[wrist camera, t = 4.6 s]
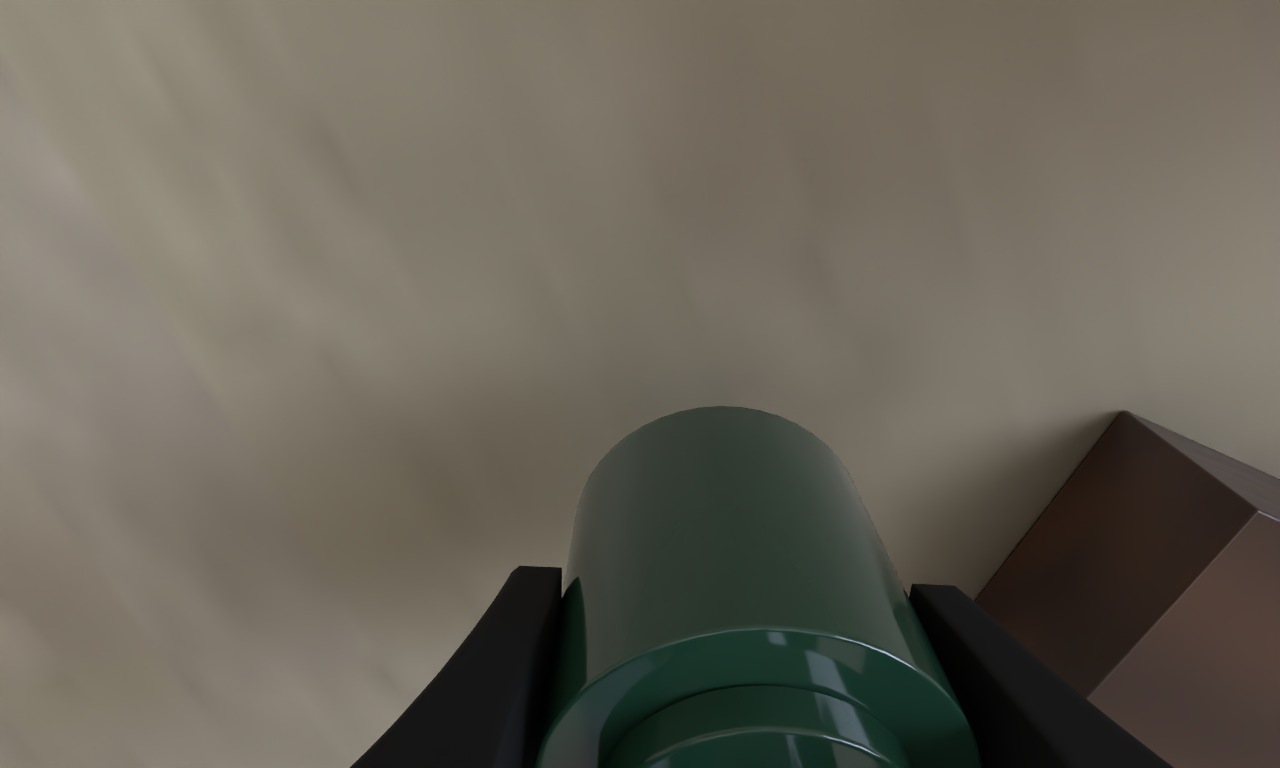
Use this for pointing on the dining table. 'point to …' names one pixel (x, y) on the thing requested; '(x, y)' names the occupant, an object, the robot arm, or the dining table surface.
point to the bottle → (738, 614)
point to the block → (1159, 595)
